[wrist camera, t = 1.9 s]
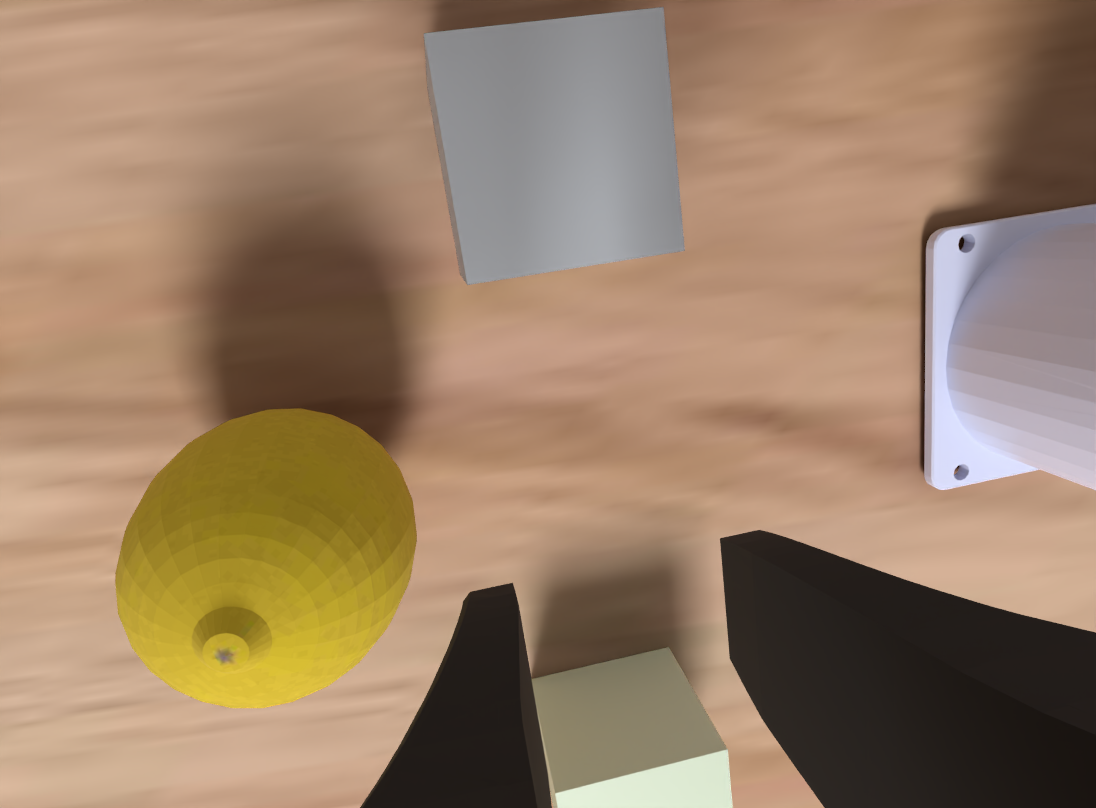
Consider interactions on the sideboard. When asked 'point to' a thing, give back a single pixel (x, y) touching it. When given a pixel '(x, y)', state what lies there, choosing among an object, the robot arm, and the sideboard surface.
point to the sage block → (630, 737)
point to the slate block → (556, 142)
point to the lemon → (266, 558)
